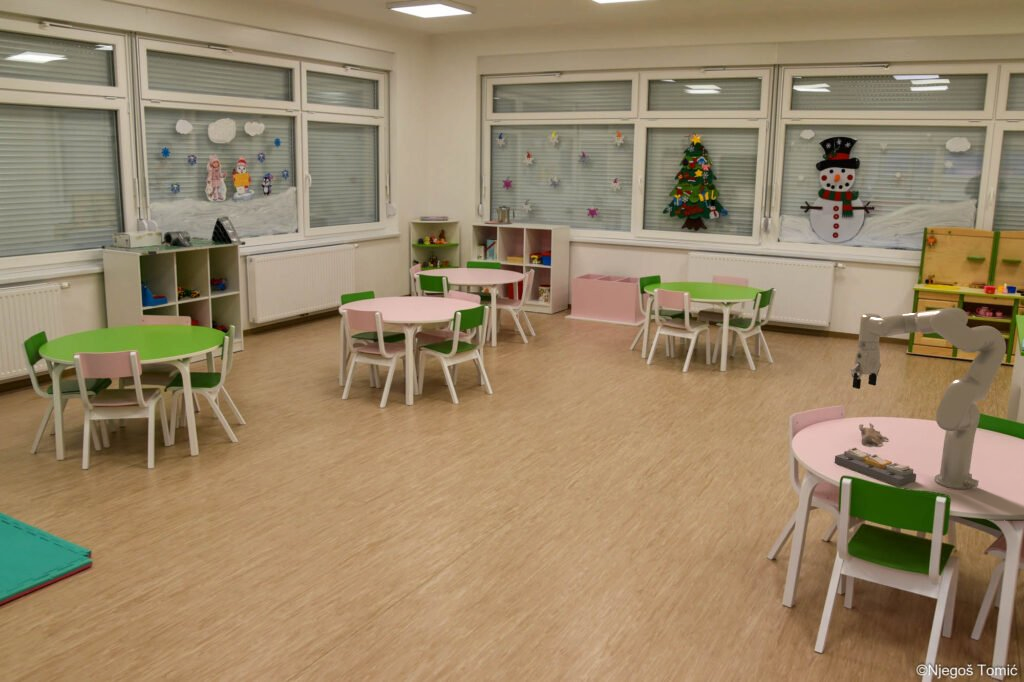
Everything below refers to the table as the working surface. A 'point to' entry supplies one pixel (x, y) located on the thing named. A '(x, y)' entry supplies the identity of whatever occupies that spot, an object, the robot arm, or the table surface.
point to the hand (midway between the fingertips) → (864, 386)
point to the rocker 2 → (900, 467)
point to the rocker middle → (877, 459)
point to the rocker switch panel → (876, 469)
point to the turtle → (871, 435)
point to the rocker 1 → (857, 452)
